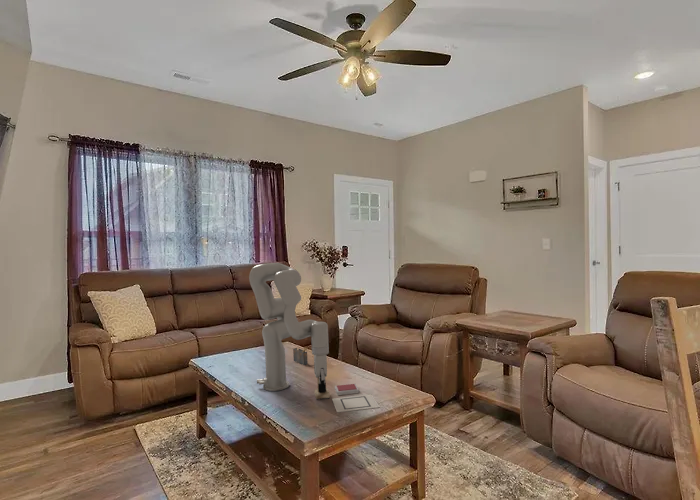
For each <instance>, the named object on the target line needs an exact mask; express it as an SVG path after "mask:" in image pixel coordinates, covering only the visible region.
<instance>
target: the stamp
mask: <svg viewBox="0 0 700 500" xmlns="http://www.w3.org/2000/svg"><path fill="white" fill-rule="evenodd" d="M320 376H321V375H320ZM316 379H317V380H316V381H317V382H318V383H317V382H316V383H317V389H314V396H315V400H316V401H319V400H328V399H330V396H331V395H330V391H329V388H328V387H326V392H323V393H319V385H318V384H319V377H318V378H316ZM320 379H321V378H320ZM325 383H327V382H326V379H325Z"/></svg>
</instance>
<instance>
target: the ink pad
mask: <svg viewBox="0 0 700 500" xmlns="http://www.w3.org/2000/svg"><path fill="white" fill-rule="evenodd" d="M334 391H335V393H336V396H343V395H344V396H345V395H351V394H352V395H353V394H359V393H360V389H359V388H358V385H357V384H356V383H348V384H339V385H334Z"/></svg>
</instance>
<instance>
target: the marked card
mask: <svg viewBox="0 0 700 500" xmlns="http://www.w3.org/2000/svg"><path fill="white" fill-rule="evenodd" d="M331 400H332V403H333V406H334V408H335V410H336V413H338V414H339V413H344V412H345V413H346V412H353V411H363V410H370V409H371V410H372V409H379V408H380V405H379V404H378V402H377V401H376V399H375V397H374V396H373V393H372V394H364V395H363V394H362V395H353V396H345V397H335V398H331Z"/></svg>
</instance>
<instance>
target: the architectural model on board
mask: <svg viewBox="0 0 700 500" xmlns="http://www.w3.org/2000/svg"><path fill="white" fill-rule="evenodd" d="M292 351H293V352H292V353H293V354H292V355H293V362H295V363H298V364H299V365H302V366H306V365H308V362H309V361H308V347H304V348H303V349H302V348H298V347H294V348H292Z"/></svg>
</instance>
